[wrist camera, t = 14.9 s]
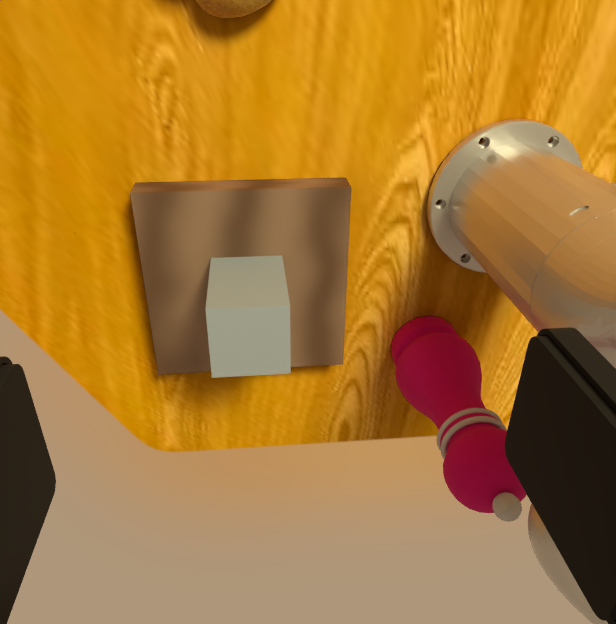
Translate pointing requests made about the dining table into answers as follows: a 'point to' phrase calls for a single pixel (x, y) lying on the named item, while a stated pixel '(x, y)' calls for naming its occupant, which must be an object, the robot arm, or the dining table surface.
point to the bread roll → (231, 7)
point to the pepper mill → (457, 415)
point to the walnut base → (243, 243)
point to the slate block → (248, 316)
